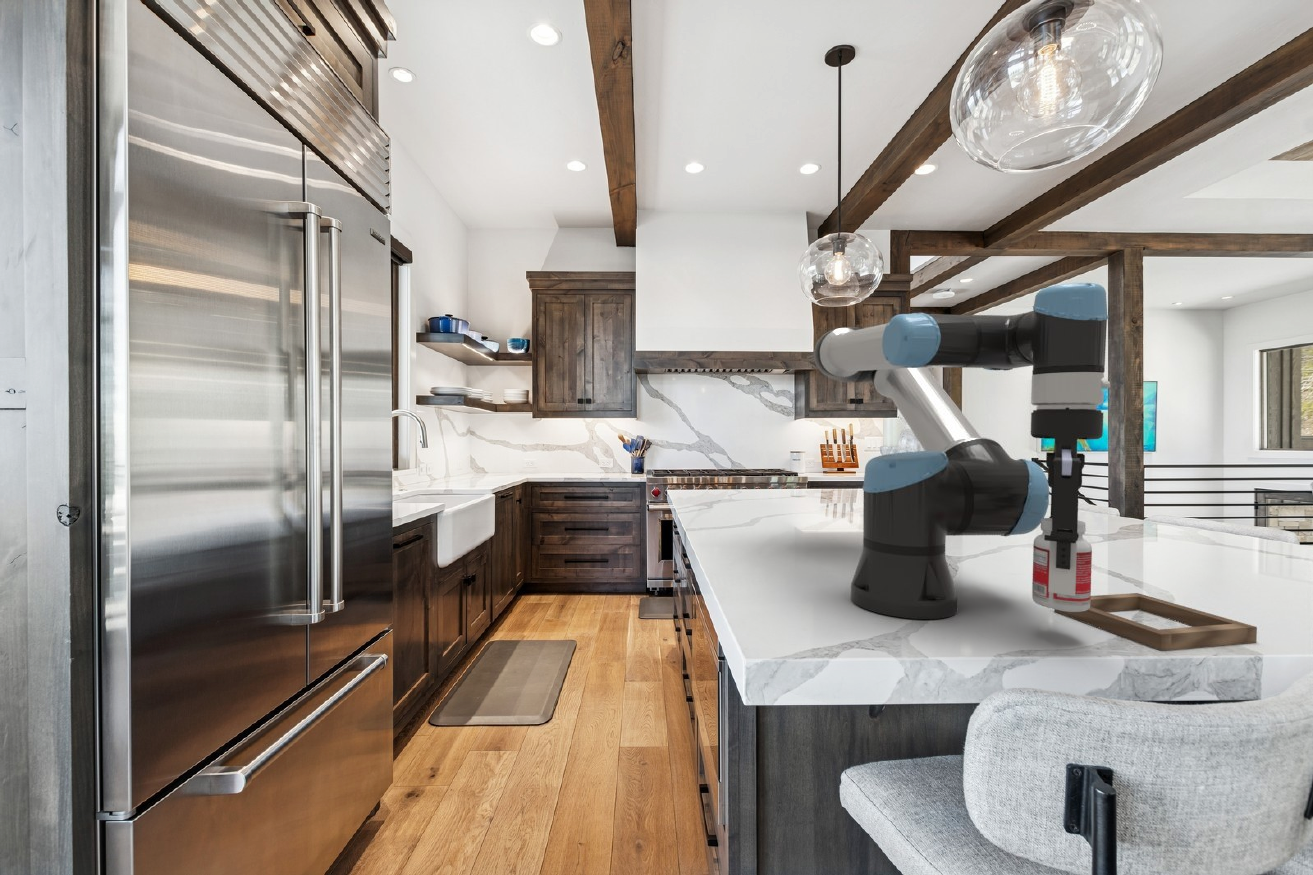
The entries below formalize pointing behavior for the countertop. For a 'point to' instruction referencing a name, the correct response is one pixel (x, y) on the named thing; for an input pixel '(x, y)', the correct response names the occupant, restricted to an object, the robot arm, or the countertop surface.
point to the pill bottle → (1042, 573)
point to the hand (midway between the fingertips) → (1060, 586)
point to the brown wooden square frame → (1202, 634)
